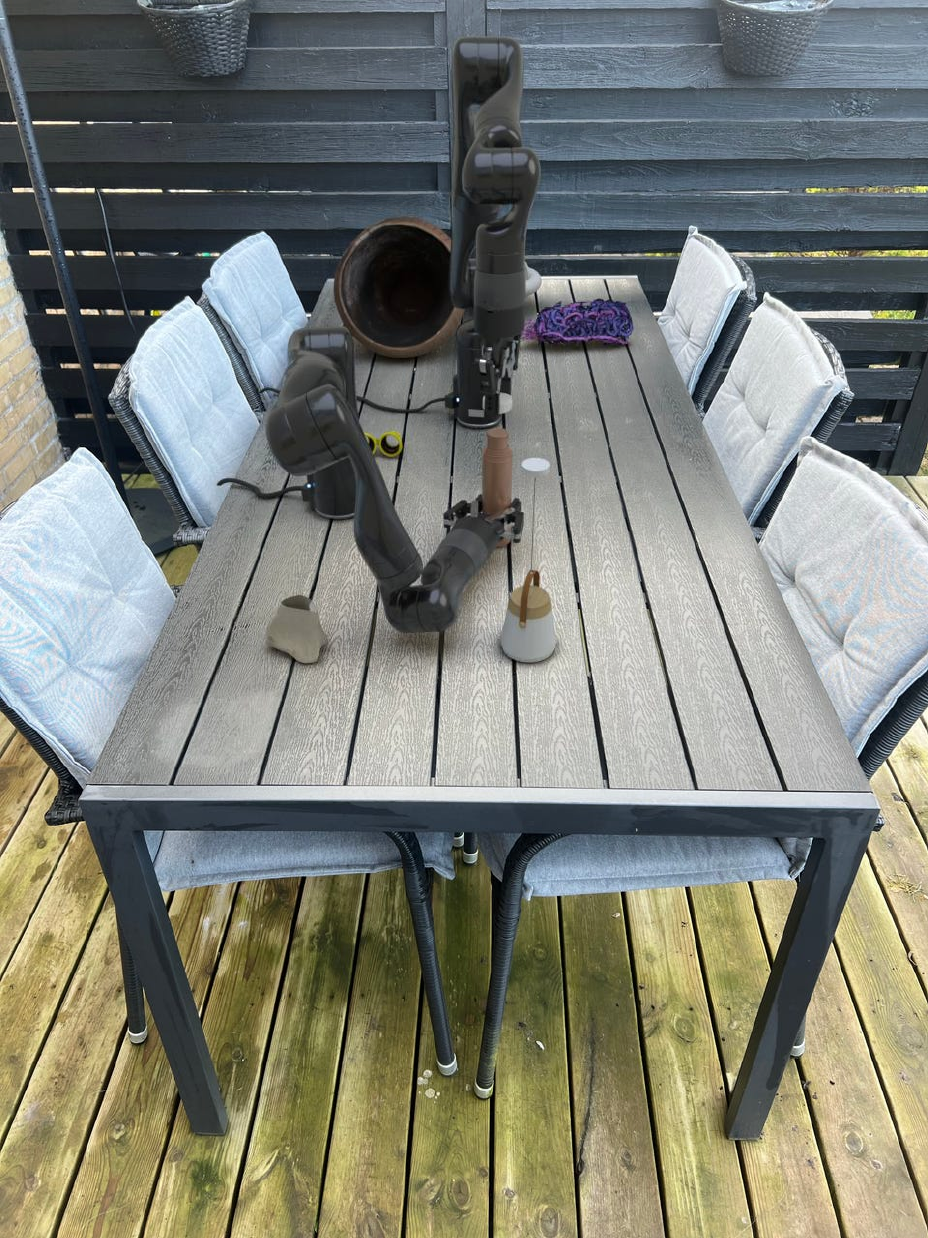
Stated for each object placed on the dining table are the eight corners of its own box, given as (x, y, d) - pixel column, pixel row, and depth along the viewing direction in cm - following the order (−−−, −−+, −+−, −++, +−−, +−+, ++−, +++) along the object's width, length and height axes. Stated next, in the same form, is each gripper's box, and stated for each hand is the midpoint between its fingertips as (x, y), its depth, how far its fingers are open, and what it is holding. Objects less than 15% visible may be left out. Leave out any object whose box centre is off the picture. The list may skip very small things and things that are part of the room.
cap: (480, 412, 144) (480, 403, 143) (484, 400, 148) (484, 391, 147) (510, 414, 144) (510, 405, 143) (513, 401, 147) (514, 392, 146)
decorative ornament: (640, 324, 222) (516, 326, 219) (631, 360, 231) (512, 363, 228) (629, 291, 230) (509, 293, 227) (621, 327, 238) (506, 329, 236)
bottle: (509, 531, 163) (512, 425, 151) (511, 547, 159) (514, 439, 147) (481, 532, 163) (481, 425, 151) (482, 547, 159) (482, 439, 147)
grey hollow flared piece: (327, 654, 140) (334, 590, 137) (317, 670, 132) (324, 604, 130) (268, 645, 140) (274, 582, 137) (255, 661, 132) (261, 594, 130)
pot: (369, 208, 238) (367, 184, 209) (481, 265, 243) (494, 249, 214) (320, 328, 244) (311, 320, 215) (430, 381, 249) (435, 380, 220)
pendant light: (546, 668, 133) (557, 484, 115) (492, 656, 136) (495, 473, 117) (562, 635, 139) (574, 455, 121) (510, 624, 142) (515, 445, 123)
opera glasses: (402, 450, 189) (400, 426, 187) (403, 457, 184) (401, 432, 182) (354, 452, 188) (352, 428, 186) (354, 460, 184) (352, 435, 182)
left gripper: (507, 539, 142) (542, 487, 155) (422, 521, 146) (463, 472, 159) (507, 579, 147) (540, 526, 159) (424, 560, 151) (463, 510, 164)
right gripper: (493, 280, 142) (492, 386, 152) (456, 311, 131) (458, 422, 142) (539, 286, 139) (535, 393, 150) (506, 318, 129) (504, 430, 140)
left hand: (501, 499), depth 159 cm, fingers closed on bottle, 5 cm apart
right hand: (497, 407), depth 146 cm, fingers closed on cap, 4 cm apart
